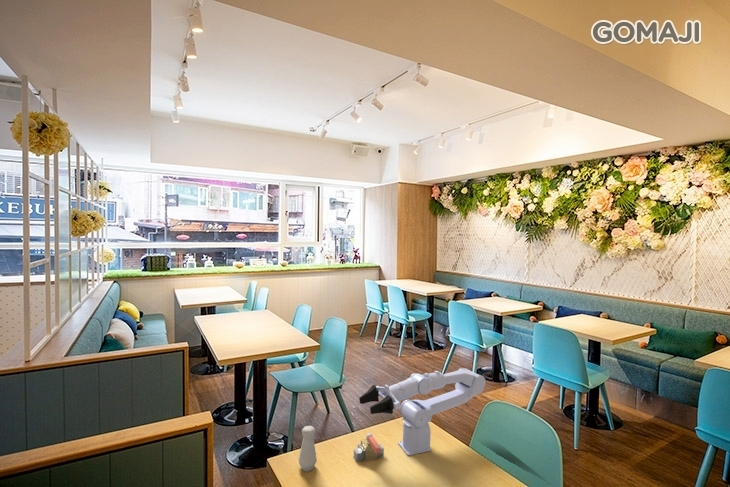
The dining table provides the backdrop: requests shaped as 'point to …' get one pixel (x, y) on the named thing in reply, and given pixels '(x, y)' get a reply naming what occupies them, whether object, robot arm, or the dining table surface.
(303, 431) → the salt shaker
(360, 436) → the dining table surface
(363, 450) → the valve base
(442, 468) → the dining table surface
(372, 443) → the lever
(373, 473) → the dining table surface
